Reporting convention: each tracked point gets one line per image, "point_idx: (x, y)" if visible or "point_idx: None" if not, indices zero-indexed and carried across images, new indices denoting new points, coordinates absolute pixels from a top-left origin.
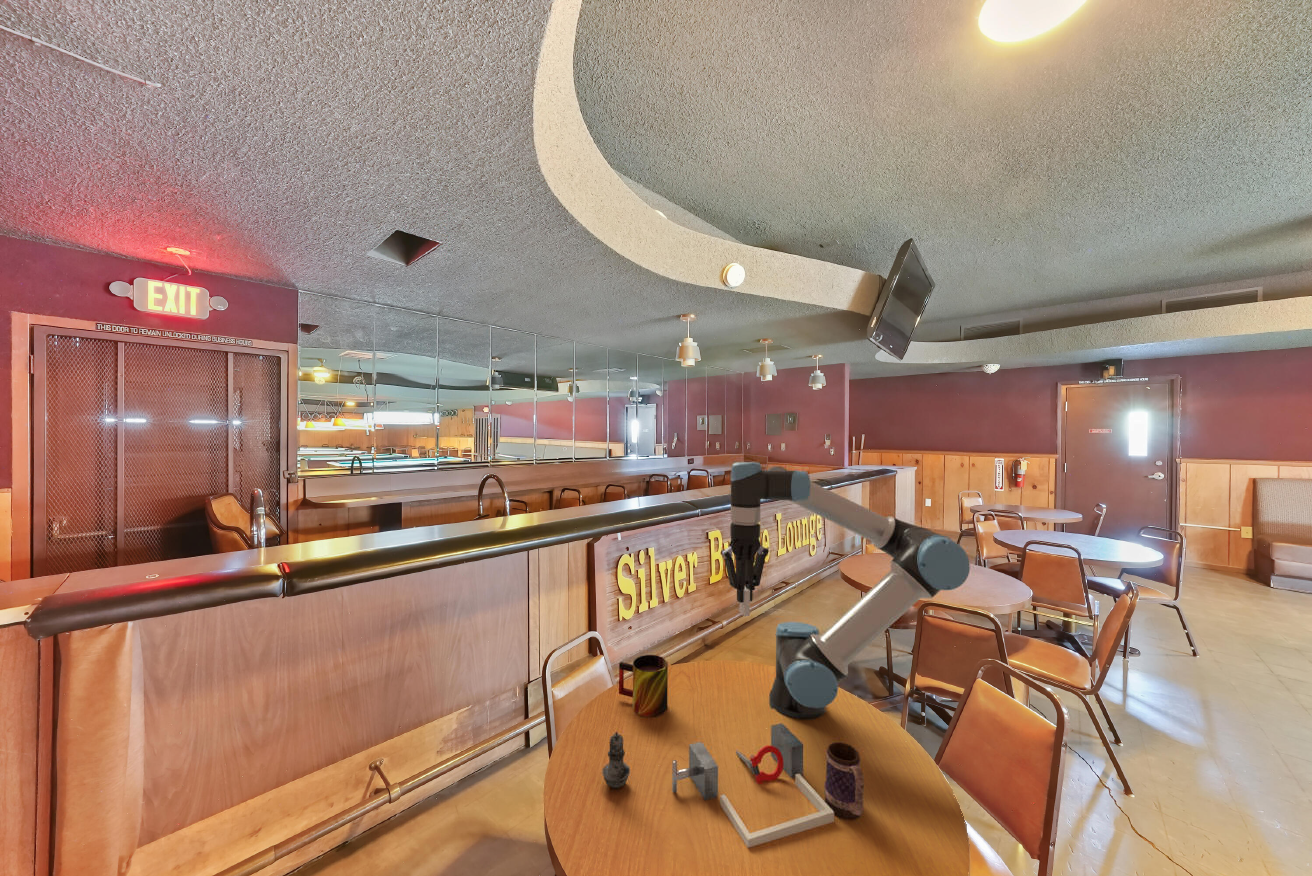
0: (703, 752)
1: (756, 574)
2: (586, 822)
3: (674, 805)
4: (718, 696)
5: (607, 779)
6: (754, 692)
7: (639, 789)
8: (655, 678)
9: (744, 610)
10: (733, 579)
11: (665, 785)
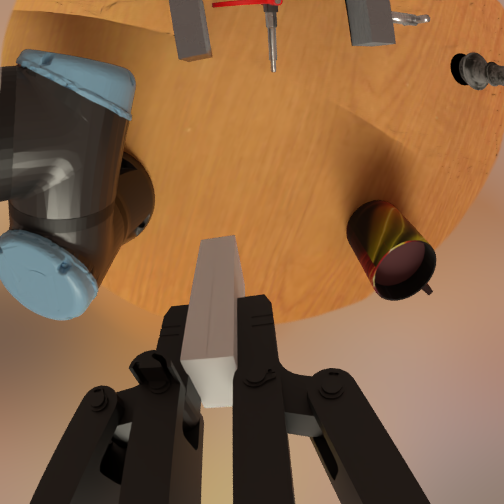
0: (377, 16)
1: (93, 480)
2: (491, 38)
3: (404, 8)
4: (246, 235)
5: (486, 62)
6: (173, 237)
7: (439, 52)
8: (405, 232)
9: (235, 255)
10: (383, 445)
11: (408, 43)
